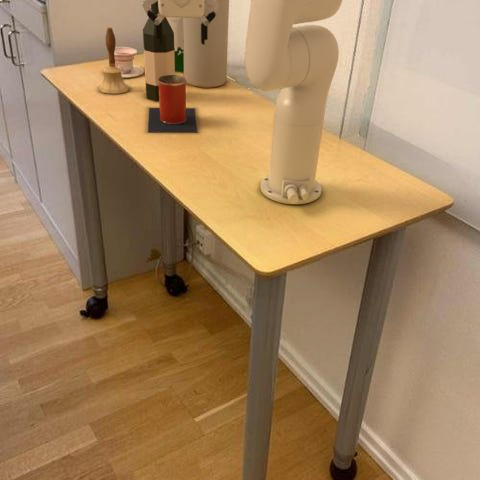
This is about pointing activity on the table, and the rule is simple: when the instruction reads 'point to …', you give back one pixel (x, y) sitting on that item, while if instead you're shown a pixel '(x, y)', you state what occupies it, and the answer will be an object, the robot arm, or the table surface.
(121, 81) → the hand bell
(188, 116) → the placemat
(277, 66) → the robot arm
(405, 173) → the table surface
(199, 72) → the cylinder vase
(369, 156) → the table surface
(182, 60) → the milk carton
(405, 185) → the table surface
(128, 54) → the teacup
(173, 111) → the tin can
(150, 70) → the wine bottle
